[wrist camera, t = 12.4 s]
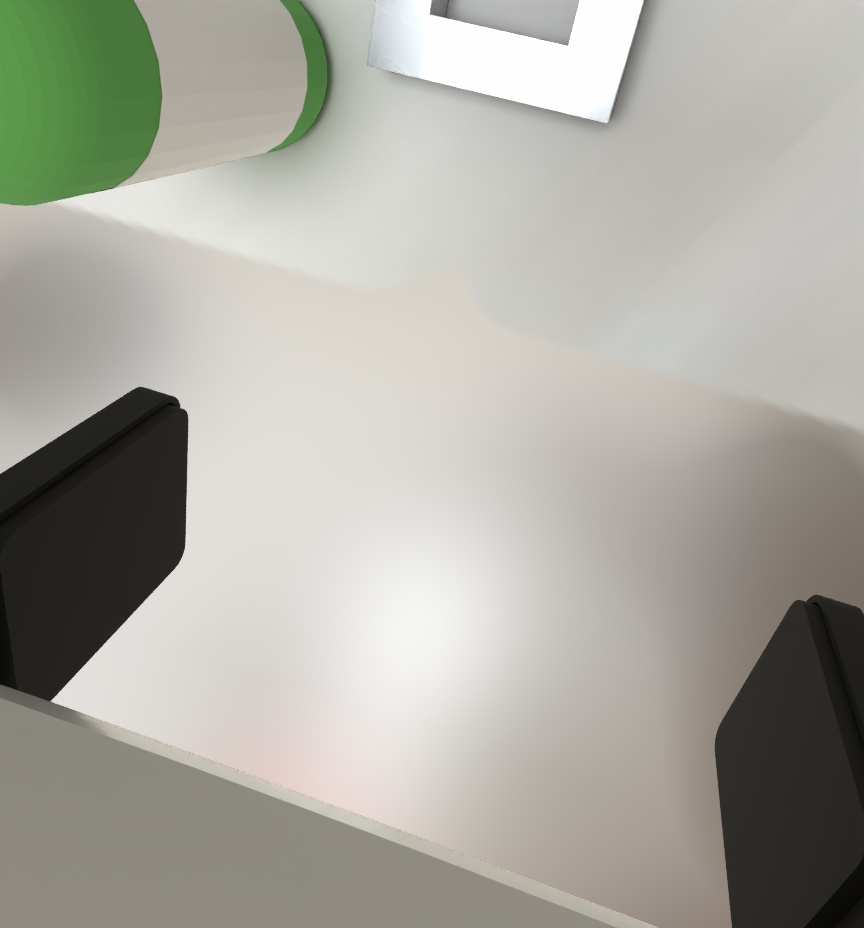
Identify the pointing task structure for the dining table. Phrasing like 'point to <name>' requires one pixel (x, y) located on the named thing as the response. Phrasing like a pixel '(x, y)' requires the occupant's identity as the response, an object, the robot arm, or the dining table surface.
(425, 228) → the dining table surface
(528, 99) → the socket block
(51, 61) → the wine bottle
